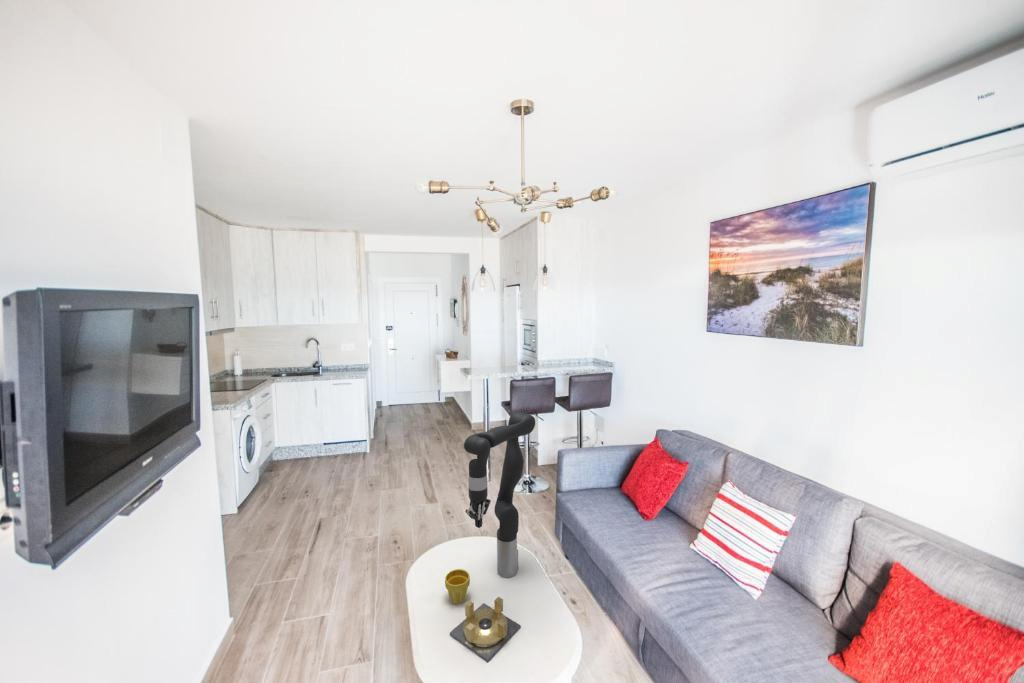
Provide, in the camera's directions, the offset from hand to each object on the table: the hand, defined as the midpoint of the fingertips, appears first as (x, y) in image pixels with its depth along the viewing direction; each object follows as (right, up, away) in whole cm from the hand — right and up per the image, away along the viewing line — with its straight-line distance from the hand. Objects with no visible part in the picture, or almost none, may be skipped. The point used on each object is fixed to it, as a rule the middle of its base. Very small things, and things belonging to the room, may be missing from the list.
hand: (478, 526), depth 166 cm
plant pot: (-10, -35, +9) cm, 37 cm away
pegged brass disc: (+3, -35, -9) cm, 36 cm away
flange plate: (+3, -36, -9) cm, 37 cm away
